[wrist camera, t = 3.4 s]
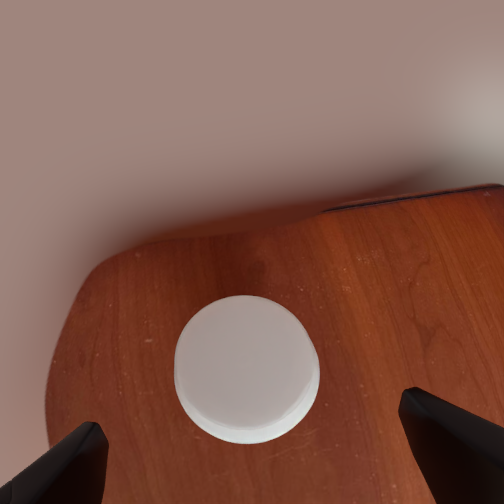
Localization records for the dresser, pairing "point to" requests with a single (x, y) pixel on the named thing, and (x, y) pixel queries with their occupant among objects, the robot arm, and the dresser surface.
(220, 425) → the pill bottle
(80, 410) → the dresser surface
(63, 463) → the robot arm
